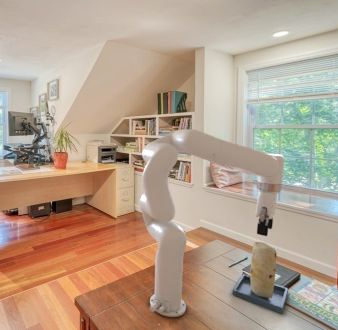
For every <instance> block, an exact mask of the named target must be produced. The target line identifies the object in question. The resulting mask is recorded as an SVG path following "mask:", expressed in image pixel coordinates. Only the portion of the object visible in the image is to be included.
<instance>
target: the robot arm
mask: <svg viewBox="0 0 338 330" xmlns="http://www.w3.org/2000/svg"><path fill="white" fill-rule="evenodd" d="M179 153H182V154H188V155H191V156H194V157H197V158H199V159H202V160H205V161H208V162H211V163H214V164H217V165H220V166H226V167H231V168H236V169H237V171H239V172H241V173H243V174H248V175H254V176H257V178H256V180H257V181H256V191H257V192H258V193H257V200H256V205H255V206H256V207H255V214H254V216H255V217H256V218H258V221H257V227H256V234H257V235H260V236H263V237H268V234H269V230H272V229H273V224H274V219H273V218H274V216H275V213H276V209H277V199H278V194H282V186H283V176H284V166H285V157H284V156H283V154H277V153H267V152H264V151H262V150H258V149H255V148H252V147H248V146H246V145H245V146H244V145H241V144H238V143H235V142H233V141H232V142H231V141H228V140H224V139H222V138H220V137H216V136H213V135H211V134H209V133H205V132H204V131H200V130H197V129H192V128H187V129H184V128H183V129H176V130H174V131H172V132H170V133H168V134H166V135H164V136H163V135H162V136H161V137H159V138H157V139H155V140H153V141H151V142H149V143H147V144H146V145H145V146H144V147H143V149H142V152H141V157H142V159H143V161H144V163H146V164H145V166H144V169H143V172H142V176H141V183H142V188H143V193H142V194H141V196H140V199H139V208H140V212H141V214H142V217H143V222H144V225H145V227H146V230H147V233H148V234H149V236H151V238H152V239H153V240H155V242H156V243H157V244H158V245H157V250H156V253H155V260H154V294H153V295H151V297H150V299H149V304H150V306H149V311H150V312H152V313H154V312H156V313H157V314H159V315H161V316H164V317H167V318H177V317H180V316H183V315H184V314H185V312H186V309H187V305H186V302H185V301H184V300H183V298H182V297H183V274H184V273H183V272H184V255H185V250H186V247H187V242H188V238H187V235H186V232H185V231H184V228H182V227H181V226H180V225H179V224H177V223H175V222H174V221H173V219H174V218H175V215H176V207H175V206H176V205H175V202H174V200H173V196H172V192H171V189H170V184H169V176H170V173H171V170H172V169H173V168H174V166H175V165H176V164H177V161H178V159H179Z"/></svg>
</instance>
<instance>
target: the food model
mask: <svg viewBox="0 0 338 330" xmlns="http://www.w3.org/2000/svg"><path fill="white" fill-rule="evenodd" d="M276 271H277V250H276V249H275V248H274V247H272V246H271V245H269V244H268V243H265V242H262V241H254V243H253V246H252V252H251V259H250V271H249V272H250V273H249V276H250V280H251V289H252V292H253V293H254V294H256V295H258V296H261V297H265V298H272V297H273V290H274V285H275V283H276V273H277V272H276Z"/></svg>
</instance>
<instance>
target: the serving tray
mask: <svg viewBox="0 0 338 330" xmlns="http://www.w3.org/2000/svg"><path fill="white" fill-rule="evenodd" d="M288 294H289V288H288V287H284V286H283V285H278V284H275V285H274V290H273V297H272V298H265V297H261V296H258V295H256V294H254V293H253V292H252V289H251V280H250V275H247V274H245V273H242V275H241V277H240V278H239V280H238V281H237V283H236V285H235V286H234V288H233V289H232V296H234V297H236V298H240V299H242V300H244V301H246V302H247V301H248V302H250V303H251V304H255V305H257V306H260V307H262V308H265V309H268V310H270V311H273V312H275V313H278V314H281V315H283V311H284V308H285V305H286V301H287V297H288Z"/></svg>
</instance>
